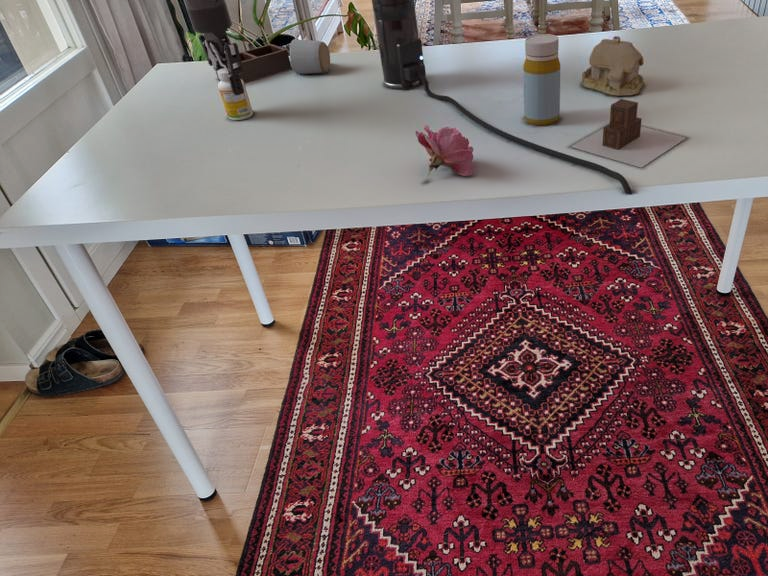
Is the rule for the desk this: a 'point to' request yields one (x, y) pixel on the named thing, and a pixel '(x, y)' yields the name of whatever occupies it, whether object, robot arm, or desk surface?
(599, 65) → the ceramic model
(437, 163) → the flower
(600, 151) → the stack of crates
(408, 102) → the desk surface
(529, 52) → the bottle
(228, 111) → the supplement bottle
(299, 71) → the ceramic mug
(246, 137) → the desk surface
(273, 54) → the compartment organizer
